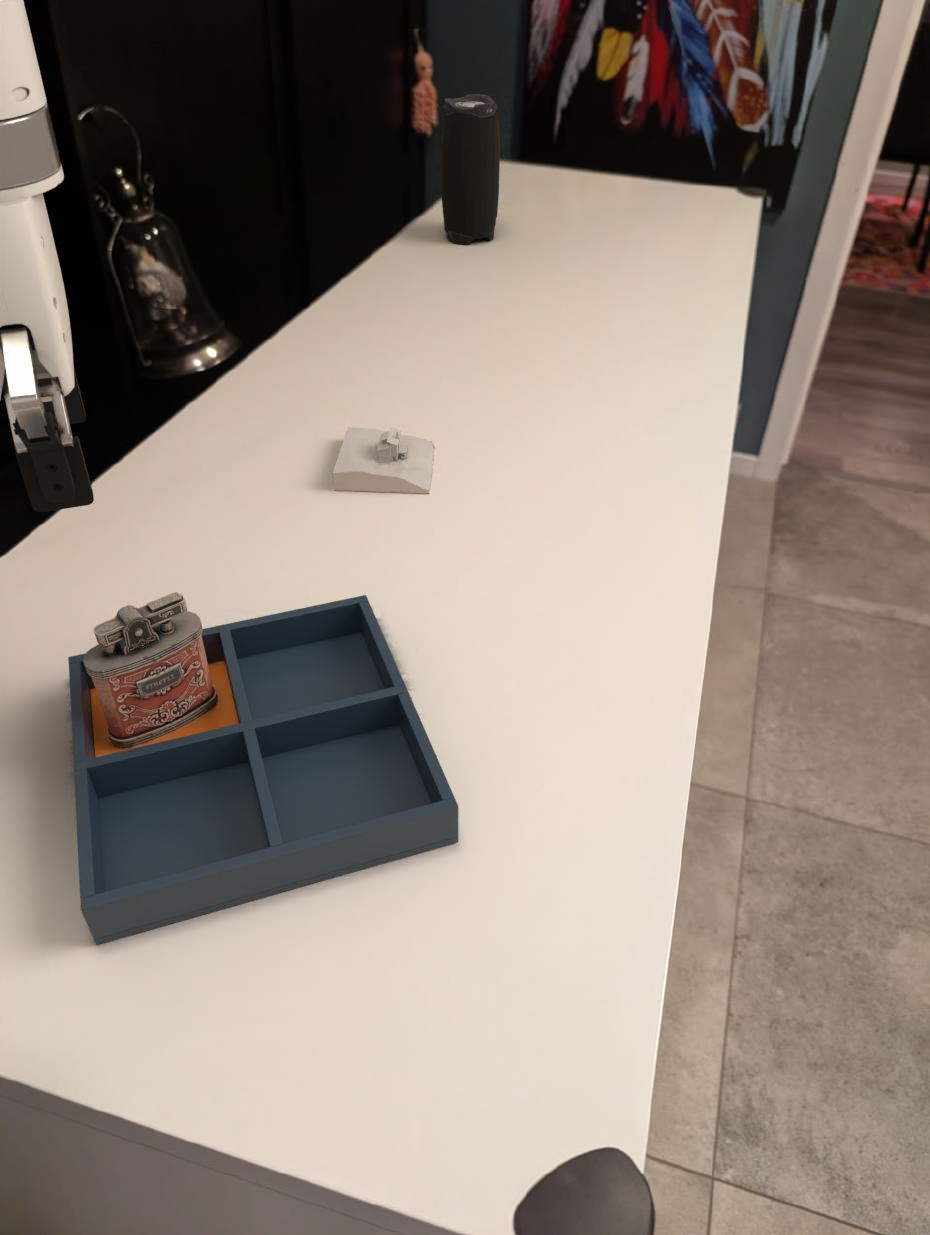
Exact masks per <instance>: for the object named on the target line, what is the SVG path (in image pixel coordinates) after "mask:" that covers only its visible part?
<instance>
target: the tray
mask: <svg viewBox="0 0 930 1235" xmlns="http://www.w3.org/2000/svg"><path fill="white" fill-rule="evenodd" d="M201 636H202V640H203V645H204V649H205V654H206V658H207V662H208V667H209V671H210V676H211V680H212V684H213V685H214V686H215V688H216V691H217V695H218V703H217V705H216V707H214V708H213V709H212V710H211V711H209V712H208V713H206V714H205V715H203V716H202V717H200V718H199V719H197V720H196V721H194V722H192V723H190V724H188V725H187V726H185V727H183V728H181V729H179V730H177V731H176V732H173V733H171V734H169V735H166V736H164V737H162V738H159V739H157V740H155V741H152V742H149V743H146V744H143V745H140V746H137V747H134V748H131V749H119V748H116V747H114V746H113V745H112V744H111V741H110V739H109V736H108V733H107V726H108V724H107V721H106V718H105V715H104V712H103V709H102V706H101V703H100V700H99V697H98V694H97V691H96V688H95V685H94V683H93V680H92V677H91V676H90V675H89V674H88V673H87V670H86V668H85V665H84V662H83V659H84V655H85V654H86V652H85V653H81V654H76V655H71V656H68V658H67V661H68V677H69V678H68V679H69V696H70V697H69V700H70V718H71V720H70V721H71V737H72V738H71V739H72V759H73V776H74V777H73V781H74V782H73V783H74V798H75V799H74V800H75V802H74V803H75V820H76V842H77V860H78V862H77V863H78V880H79V881H78V882H79V883H78V884H79V901H80V902H79V903H80V912H81V914H82V917H83V919H84V921H85V923H86V925H87V927H88V930H89V932H90V934H91V937H92V939H93V941H94V944H95V945H96V946H97V945H98V946H99V945H102V944H105V943H108V942H111V941H116V940H119V939H123V938H127V937H130V936H133V935H137V934H140V933H144V932H147V931H151V930H155V929H159V928H161V927H165V926H168V925H171V924H175V923H180V922H183V921H185V920H189V919H194V918H197V917H200V916H203V915H207V914H211V913H214V912H218V911H222V910H225V909H227V908H232V907H235V906H238V905H242V904H245V903H249V902H253V901H256V900H260V899H263V898H268V897H270V896H274V895H277V894H281V893H284V892H288V891H291V890H295V889H298V888H301V887H302V888H303V887H305V886H309V885H312V884H316V883H319V882H322V881H327V880H330V879H334V878H337V877H341V876H344V875H348V874H352V873H355V872H358V871H362V870H365V869H369V868H373V867H376V866H379V865H384V864H387V863H389V862H390V863H391V862H393V861H397V860H401V859H404V858H407V857H411V856H415V855H418V854H422V853H426V852H428V851H432V850H435V849H439V848H443V847H447V846H449V845H454V844H457V843H459V804H458V802H457V800H456V798H455V795H454V792H453V791H452V789H451V788H452V787H451V786H450V784H449V782H448V778H447V777H446V774H445V773H444V770H443V767H442V765H441V763H440V761H439V759H438V756H437V754H436V752H435V749H434V747H433V745H432V743H431V740H430V738H429V736H428V733H427V731H426V729H425V727H424V724H423V722H422V720H421V718H420V715H419V713H418V711H417V708H416V706H415V703H414V701H413V699H412V697H411V695H410V692H409V690H408V688H407V686H406V683H405V681H404V678H403V676H402V674H401V672H400V669H399V668H398V665H397V662H396V661H395V657H394V655H393V653H392V651H391V648H390V647H389V644H388V643H387V640H386V637H385V635H384V633H383V630H382V628H381V626H380V624H379V621H378V619H377V617H376V615H375V612H374V610H373V607H372V605H371V603H370V602H369V599H368V596H367V595H366V594H364V595H359V596H355V597H354V596H353V597H349V598H345V599H344V598H343V599H340V600H336V601H330V602H325V603H320V604H315V605H312V606H311V605H310V606H307V607H306V606H305V607H301V608H297V609H292V610H288V611H287V610H286V611H282V612H278V613H272V614H268V615H263V616H258V617H253V618H248V619H244V620H239V621H234V622H229V623H225V624H220V625H215V626H210V627H205V628H202V634H201Z"/></svg>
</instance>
